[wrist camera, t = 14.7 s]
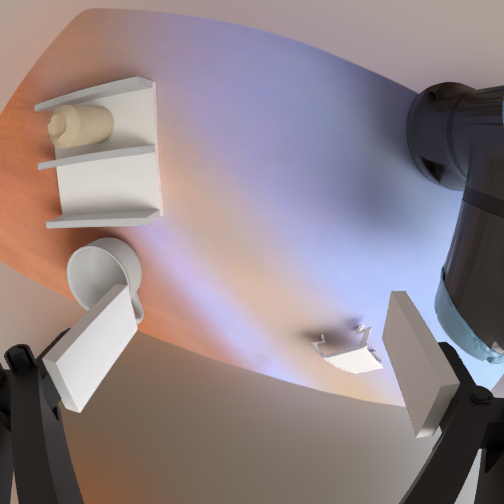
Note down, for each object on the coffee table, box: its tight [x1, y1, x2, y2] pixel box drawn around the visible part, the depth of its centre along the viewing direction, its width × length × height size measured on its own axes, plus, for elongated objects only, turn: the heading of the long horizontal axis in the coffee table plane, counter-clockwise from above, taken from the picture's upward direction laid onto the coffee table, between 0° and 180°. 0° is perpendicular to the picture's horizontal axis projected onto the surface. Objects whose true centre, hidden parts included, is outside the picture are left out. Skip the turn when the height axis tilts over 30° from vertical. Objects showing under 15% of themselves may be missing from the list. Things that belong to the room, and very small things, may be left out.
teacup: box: [66, 238, 144, 325], centre depth 45 cm, size 14×11×8 cm
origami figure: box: [311, 324, 384, 374], centre depth 46 cm, size 12×8×5 cm
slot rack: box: [35, 76, 164, 228], centre depth 39 cm, size 18×19×6 cm
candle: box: [47, 105, 114, 148], centre depth 35 cm, size 6×6×10 cm
